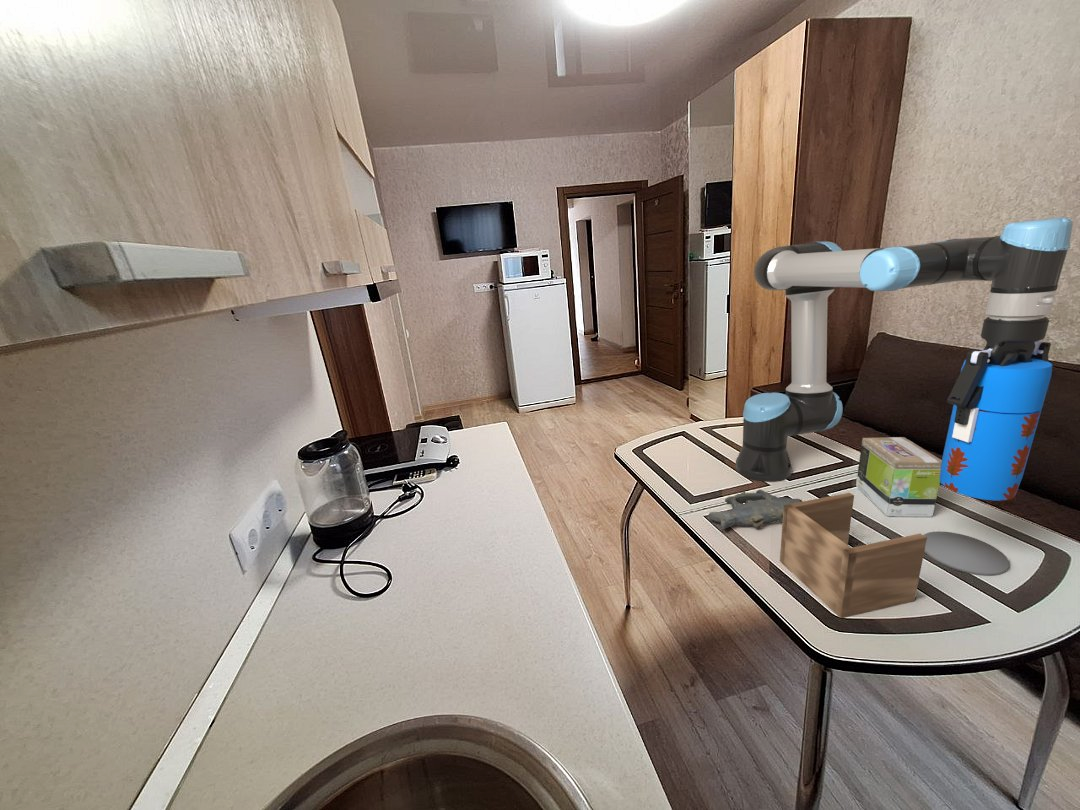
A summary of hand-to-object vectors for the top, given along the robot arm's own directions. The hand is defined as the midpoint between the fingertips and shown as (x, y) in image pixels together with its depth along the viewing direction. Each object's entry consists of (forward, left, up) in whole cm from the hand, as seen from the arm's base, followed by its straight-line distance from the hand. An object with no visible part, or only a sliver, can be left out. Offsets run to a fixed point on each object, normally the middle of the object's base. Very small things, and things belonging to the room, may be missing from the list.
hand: (988, 434), depth 78 cm
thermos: (0, 0, -11) cm, 11 cm away
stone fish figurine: (-25, -29, -27) cm, 47 cm away
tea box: (-20, +5, -27) cm, 34 cm away
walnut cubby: (0, -27, -27) cm, 38 cm away
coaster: (0, 0, -27) cm, 27 cm away
